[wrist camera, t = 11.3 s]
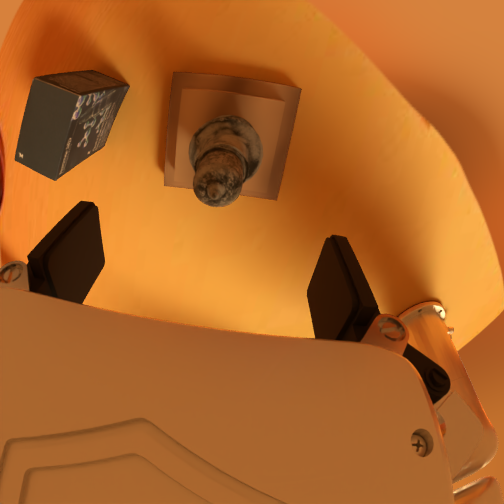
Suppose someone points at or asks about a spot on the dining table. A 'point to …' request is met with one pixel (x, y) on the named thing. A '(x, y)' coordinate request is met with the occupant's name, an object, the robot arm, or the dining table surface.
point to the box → (67, 120)
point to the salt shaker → (224, 159)
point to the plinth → (238, 104)
